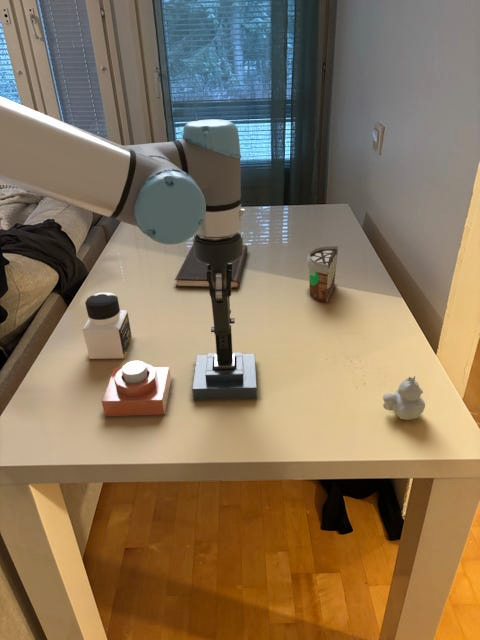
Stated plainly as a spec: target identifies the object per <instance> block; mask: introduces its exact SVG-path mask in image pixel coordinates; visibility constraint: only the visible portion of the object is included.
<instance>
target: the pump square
mask: <svg viewBox="0 0 480 640" xmlns="http://www.w3.org/2000/svg"><path fill="white" fill-rule="evenodd" d="M224 370H235V354H233V361H218V362H217V355H215V359H214V371H224Z"/></svg>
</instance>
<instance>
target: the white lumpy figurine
mask: <svg viewBox="0 0 480 640" xmlns="http://www.w3.org/2000/svg"><path fill="white" fill-rule="evenodd" d="M423 393H424V391H423V389H422V388H421V387H420V384H419V383H418V381H417V380H416V375H414V376H413V377H412V376H409V377H406V378H405V379H404V380H403V381H401V382H400V384H399V386H398V388H397V390H395V392H394V393H384V394H383V395H382V399H383V404H382V406H383V407H382V408H383V409H385V410H387V411H392V412H393V414H395V416H397V417H398V418H399V419H401V420H405V421H407V420H408V421H410V420H416V419H418V418H419V417H420V416H421V415H422V413H423V412H424V411H425V408H426V403H425V401H424V399H423V398H422V397H421V395H423Z"/></svg>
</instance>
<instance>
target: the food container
mask: <svg viewBox="0 0 480 640" xmlns="http://www.w3.org/2000/svg"><path fill="white" fill-rule="evenodd" d="M338 255H339V246H338V245H324V246H319V247H316V248H314V249H312V250H311V251H310V252H309V253H308V255H307V258H306V262H305V264H306V266H307V268H308V275H309V276H308V278H309V280H308V281H309V295H310V297H311V298H313V299H315V300H316V301H319V302H322V303H327V302H328V300H329V297H330V296H331V293H332V292H333V290H334V287H335V281H336V273H337V272H336V271H337V262H338Z"/></svg>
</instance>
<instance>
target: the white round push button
mask: <svg viewBox="0 0 480 640" xmlns="http://www.w3.org/2000/svg"><path fill="white" fill-rule="evenodd" d="M145 363H146V362H145V361H142V360H137V359H136V360H130V361H128V362H126V363H124V364H123V365H122V367H121V368H122V372H123V377H124V381H125V382H126V383H129V384H134V383H139V382H142V381H144V380H145V379H146V378H147V376H148V374H147V368H146V364H147V363H146V364H145Z"/></svg>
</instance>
